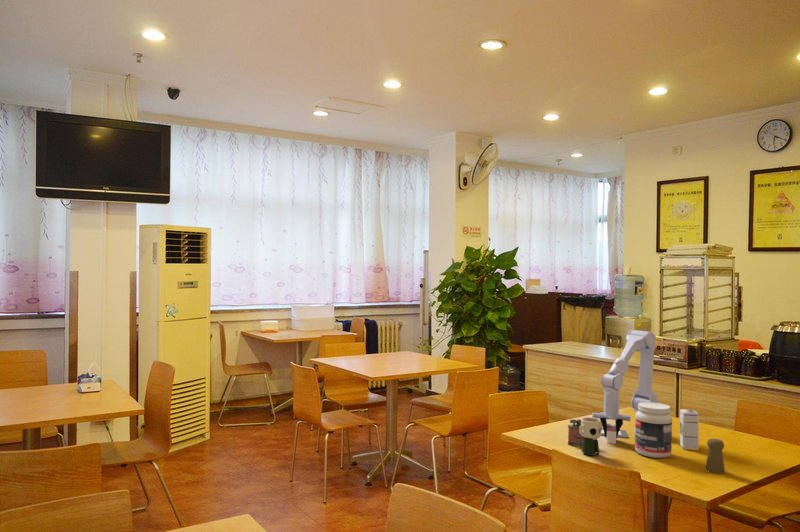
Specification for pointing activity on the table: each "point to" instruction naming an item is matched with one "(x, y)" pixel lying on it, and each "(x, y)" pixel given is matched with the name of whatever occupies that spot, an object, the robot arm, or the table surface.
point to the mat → (621, 433)
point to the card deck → (611, 433)
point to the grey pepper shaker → (715, 456)
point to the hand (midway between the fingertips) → (610, 437)
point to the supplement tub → (653, 430)
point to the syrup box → (689, 429)
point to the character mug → (590, 434)
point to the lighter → (575, 433)
